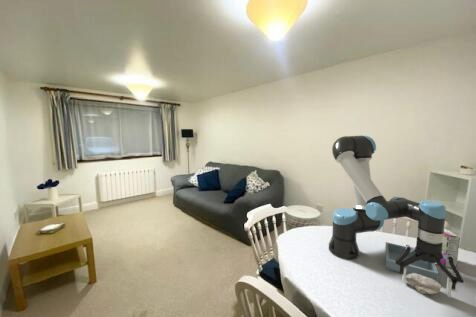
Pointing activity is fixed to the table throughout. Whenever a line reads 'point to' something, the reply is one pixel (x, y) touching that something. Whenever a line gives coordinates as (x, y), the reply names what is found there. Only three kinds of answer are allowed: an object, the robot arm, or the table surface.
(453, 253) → the candy bar box
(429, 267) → the bin
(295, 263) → the table surface
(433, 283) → the fossil
